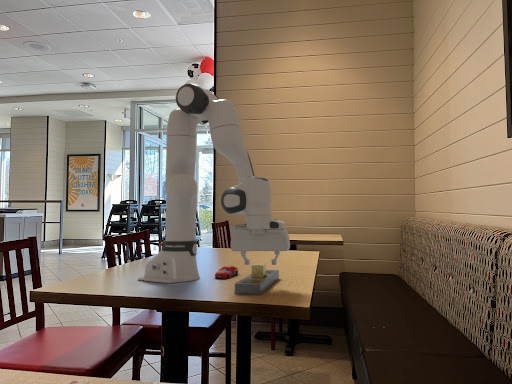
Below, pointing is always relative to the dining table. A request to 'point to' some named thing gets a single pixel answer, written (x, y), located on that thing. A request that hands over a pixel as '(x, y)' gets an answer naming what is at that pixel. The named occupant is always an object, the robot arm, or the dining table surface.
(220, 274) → the race car
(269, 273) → the rail
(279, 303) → the dining table surface
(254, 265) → the pale yellow block
